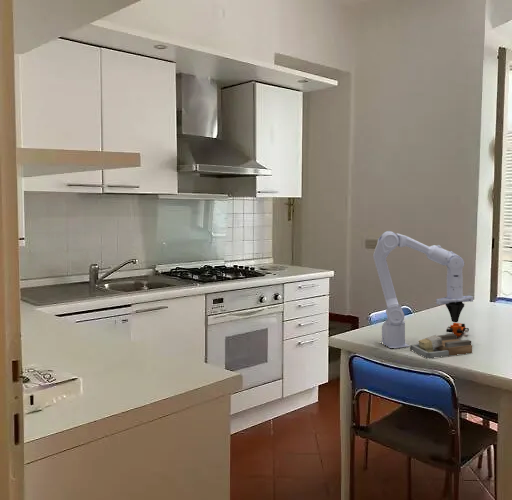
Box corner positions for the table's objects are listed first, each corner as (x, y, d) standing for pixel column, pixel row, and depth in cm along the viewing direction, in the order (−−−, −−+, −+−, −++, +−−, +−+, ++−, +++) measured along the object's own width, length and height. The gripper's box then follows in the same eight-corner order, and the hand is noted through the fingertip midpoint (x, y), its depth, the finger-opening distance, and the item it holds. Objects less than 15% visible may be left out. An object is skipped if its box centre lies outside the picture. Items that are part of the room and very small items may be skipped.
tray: (410, 350, 209) (410, 344, 208) (430, 347, 211) (430, 342, 211) (427, 359, 197) (427, 353, 197) (448, 356, 199) (448, 350, 199)
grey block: (427, 345, 206) (425, 338, 205) (436, 342, 206) (435, 335, 206) (433, 348, 202) (431, 340, 201) (442, 345, 203) (441, 337, 202)
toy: (443, 324, 222) (451, 316, 234) (443, 339, 222) (451, 330, 235) (464, 326, 218) (471, 317, 230) (464, 341, 218) (471, 332, 231)
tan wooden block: (427, 348, 206) (420, 350, 205) (425, 338, 205) (418, 340, 205) (433, 351, 202) (426, 353, 201) (431, 341, 201) (424, 343, 201)
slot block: (430, 347, 211) (430, 336, 210) (452, 345, 213) (452, 333, 213) (448, 356, 199) (448, 344, 199) (472, 353, 201) (472, 341, 201)
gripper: (443, 289, 204) (443, 325, 205) (478, 286, 207) (478, 322, 209) (432, 286, 210) (433, 321, 212) (466, 283, 214) (466, 318, 215)
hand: (454, 321), depth 211 cm, fingers closed
